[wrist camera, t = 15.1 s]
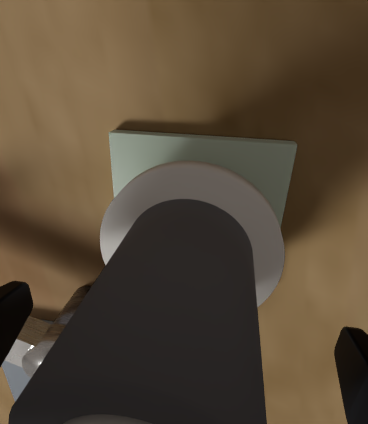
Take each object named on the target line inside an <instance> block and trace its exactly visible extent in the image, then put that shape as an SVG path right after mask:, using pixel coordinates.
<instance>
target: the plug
mask: <svg viewBox="0 0 368 424" xmlns="http://www.w3.org/2000/svg"><path fill="white" fill-rule="evenodd" d="M100 248H101V253H102V257H103V260H104V263H105V267H104V269H103V270H102V272H101V273H100V275H99V276H98V278H97V279H96V281H95V282H94V284H93V285H92V287H91V288H90V290H89V291H88V293H87V294H86V296H85V297H84V299H83V300H82V302H81V303H80V305H79V306H78V308H77V310H76V311H75V313H74V314H73V316H72V317H71V319H70V320H69V322H68V323H67V325H66V326H65V328H64V329H63V331H62V332H61V334H60V335H59V337H58V338H57V340H56V341H55V343H54V344H53V346H52V347H51V349H50V350H49V352H48V353H47V355H46V356H45V358H44V359H43V361H42V362H41V364H40V365H39V367H38V368H37V370H36V371H35V373H34V374H33V376H32V377H31V379H30V380H29V382H28V383H27V385H26V387H25V388H24V390H23V391H22V393H21V394H20V396H19V397H18V399H17V400H16V402H15V403H14V405H13V406H12V409H11V411H10V414H9V424H267V420H266V408H265V396H264V384H263V371H262V359H261V347H260V334H259V322H258V310H257V307H258V306H260V305H261V304H262V303H263V302H264V301H265V300H266V299H267V298H268V297H269V296H270V295H271V293H272V292H273V290H274V289H275V287H276V286H277V284H278V282H279V279H280V277H281V274H282V271H283V267H284V259H285V251H284V242H283V238H282V233H281V229H280V226H279V222H278V219H277V217H276V214H275V212H274V210H273V208H272V206H271V205H270V203H269V201H268V200H267V199H266V198H265V196H264V195H263V194H262V192H261V191H259V190H258V189H257V188H256V187H255V186H254V185H253V184H252V183H251V182H249V181H248V180H247V179H245V178H244V177H243V176H241V175H239V174H237V173H235V172H234V171H232V170H229V169H227V168H224V167H222V166H219V165H216V164H212V163H208V162H201V161H174V162H168V163H164V164H161V165H157V166H154V167H152V168H150V169H148V170H145V171H144V172H142V173H141V174H139V175H137V176H136V177H135V178H133V179H132V180H131V181H130V182H129V183H128V184H127V185H126V186H125V187H124V188H123V189H122V190H121V191H120V192H119V193H118V194H117V196H116V197H115V198H114V199H113V200H112V202H111V203H110V205H109V207H108V208H107V210H106V213H105V215H104V217H103V221H102V225H101V230H100Z"/></svg>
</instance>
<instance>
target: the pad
mask: <svg viewBox="0 0 368 424" xmlns="http://www.w3.org/2000/svg"><path fill="white" fill-rule="evenodd" d="M109 142H110V154H111V167H112V179H113V191H114V198H115V197H116V196H117V194H118V193H119V192H120V191H121V190H122V189H123V188H124V187H125V186H126V185H127V184H128V183H129V182H130V181H131V180H132V179H133V178H135V177H136V176H137V175H139V174H141V173H142V172H144V171H145V170H148V169H150V168H152V167H154V166H157V165H161V164H164V163H168V162H174V161H201V162H208V163H212V164H216V165H219V166H222V167H224V168H227V169H229V170H232V171H234V172H235V173H237V174H239V175H241V176H243V177H244V178H245V179H247V180H248V181H249V182H251V183H252V184H253V185H254V186H255V187H256V188H257V189H258V190H259V191H261V192H262V194H263V195H264V196H265V198H266V199H267V200H268V201H269V203H270V205H271V206H272V208H273V210H274V212H275V214H276V217H277V219H278V222H279V226H280V228H281V223H282V218H283V213H284V209H285V204H286V199H287V194H288V189H289V184H290V179H291V174H292V169H293V164H294V160H295V155H296V150H297V144H296V142H295V141H285V140H270V139H254V138H238V137H223V136H207V135H191V134H176V133H160V132H144V131H129V130H113V131H111V132H109Z"/></svg>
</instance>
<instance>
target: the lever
mask: <svg viewBox="0 0 368 424" xmlns="http://www.w3.org/2000/svg"><path fill="white" fill-rule="evenodd" d="M90 288H91V287H90V286H85V287H81V288H79V289H77V290H76V292H75V293H74V294H73V296H72V297H71V299H70V300H69V301H68V303H67V304H66V306H65V307H64V308H63V310H62V311H61V313H60V314H59V315H58V317H57V318H56V320H55V321H54V322H53V324H49V323H47V322H44V321H42V320H40V319H37V318H35V317H32V316H30V315H29V317H28V319H27V321H26V322H25V324H24V326H23V328H22V330H21V332H20V333H19V335H18V337H17V339H16V341H15V343H14V345H13V346H12V348H11V350H10V352H9V354H8V355H7V357H6V359H5V361H7V362H10V363H12V364H15V365H17V366H20V367H22V368H23V369H24V371H25V373H26V374H27V375H28V376H29V377H30V378H31V377H32V376H33V374H34V373H35V371H36V370H37V368H38V367H39V365H40V364H41V362H42V361H43V359H44V358H45V356H46V355H47V353H48V352H49V350H50V349H51V347H52V346H53V344H54V343H55V341H56V340H57V338H58V337H59V335H60V334H61V332H62V331H63V329H64V328H65V326H66V325H67V323H68V322H69V320H70V319H71V317H72V316H73V314H74V313H75V311H76V310H77V308H78V306H79V305H80V303H81V302H82V300H83V299H84V297H85V296H86V294H87V293H88V291H89V290H90Z"/></svg>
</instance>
